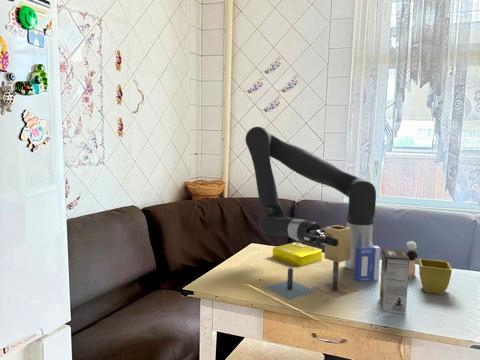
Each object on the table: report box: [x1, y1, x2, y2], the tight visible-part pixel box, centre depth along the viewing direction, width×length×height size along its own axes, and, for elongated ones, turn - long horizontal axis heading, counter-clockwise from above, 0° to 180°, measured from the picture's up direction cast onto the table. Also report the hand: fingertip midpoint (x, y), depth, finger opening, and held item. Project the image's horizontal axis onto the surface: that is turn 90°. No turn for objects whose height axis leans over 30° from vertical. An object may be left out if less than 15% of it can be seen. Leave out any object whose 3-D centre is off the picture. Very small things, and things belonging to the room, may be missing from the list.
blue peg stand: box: [263, 267, 317, 300], centre depth 131 cm, size 12×12×7 cm
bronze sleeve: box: [324, 224, 351, 263], centre depth 131 cm, size 6×6×10 cm
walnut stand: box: [311, 261, 358, 298], centre depth 132 cm, size 10×10×12 cm
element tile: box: [272, 241, 323, 267], centre depth 166 cm, size 15×15×5 cm
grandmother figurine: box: [406, 240, 419, 279], centre depth 146 cm, size 8×4×13 cm, turn 135°
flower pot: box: [418, 258, 453, 295], centre depth 133 cm, size 9×9×9 cm
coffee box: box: [379, 248, 410, 315], centre depth 120 cm, size 9×6×16 cm
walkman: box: [354, 245, 381, 282], centre depth 141 cm, size 8×3×12 cm, turn 102°
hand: (342, 241), depth 129 cm, fingers closed on bronze sleeve, 5 cm apart
